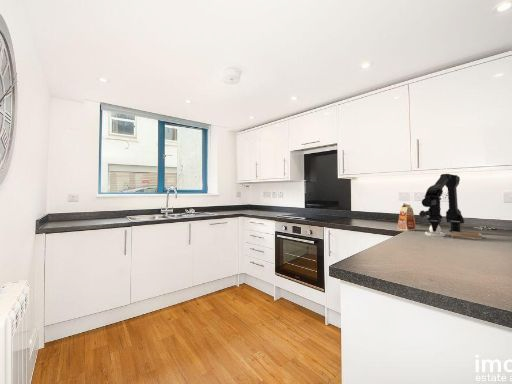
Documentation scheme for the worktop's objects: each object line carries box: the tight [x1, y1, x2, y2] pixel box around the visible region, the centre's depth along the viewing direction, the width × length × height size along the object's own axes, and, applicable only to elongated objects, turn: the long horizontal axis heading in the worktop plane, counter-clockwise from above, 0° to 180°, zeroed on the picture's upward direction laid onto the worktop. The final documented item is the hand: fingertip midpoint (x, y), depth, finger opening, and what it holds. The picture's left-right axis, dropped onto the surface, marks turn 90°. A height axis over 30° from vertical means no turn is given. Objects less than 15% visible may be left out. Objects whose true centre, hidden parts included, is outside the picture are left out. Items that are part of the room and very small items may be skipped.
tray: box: [450, 231, 482, 240], centre depth 150 cm, size 12×14×2 cm
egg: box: [428, 224, 442, 234], centre depth 157 cm, size 6×6×8 cm
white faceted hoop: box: [424, 231, 446, 237], centre depth 157 cm, size 11×11×1 cm
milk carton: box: [396, 202, 417, 231], centre depth 183 cm, size 9×9×20 cm
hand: (435, 230), depth 157 cm, fingers open, 9 cm apart
